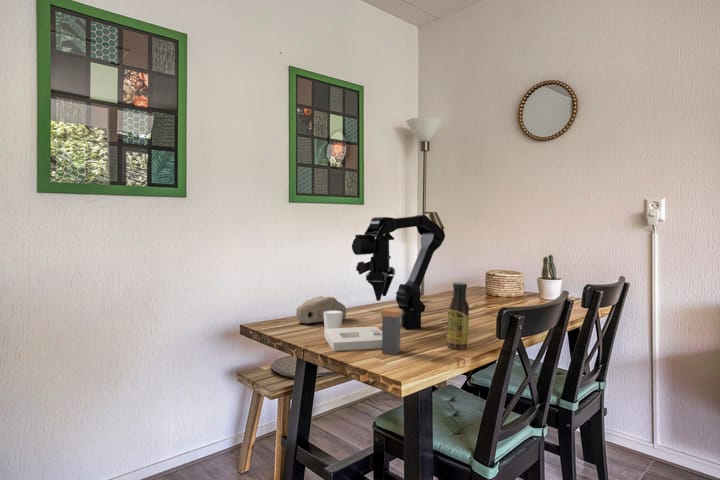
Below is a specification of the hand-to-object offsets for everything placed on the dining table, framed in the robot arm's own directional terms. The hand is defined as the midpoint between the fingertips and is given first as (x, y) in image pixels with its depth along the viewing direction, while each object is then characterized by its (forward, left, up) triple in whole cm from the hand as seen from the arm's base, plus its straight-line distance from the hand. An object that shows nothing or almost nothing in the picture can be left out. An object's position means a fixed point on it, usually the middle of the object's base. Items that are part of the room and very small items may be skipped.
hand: (381, 298), depth 156 cm
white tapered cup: (+16, -5, -12) cm, 21 cm away
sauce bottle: (-18, +23, -12) cm, 32 cm away
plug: (+4, +24, -12) cm, 27 cm away
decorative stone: (+18, -21, -12) cm, 31 cm away
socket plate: (+11, +10, -12) cm, 19 cm away
